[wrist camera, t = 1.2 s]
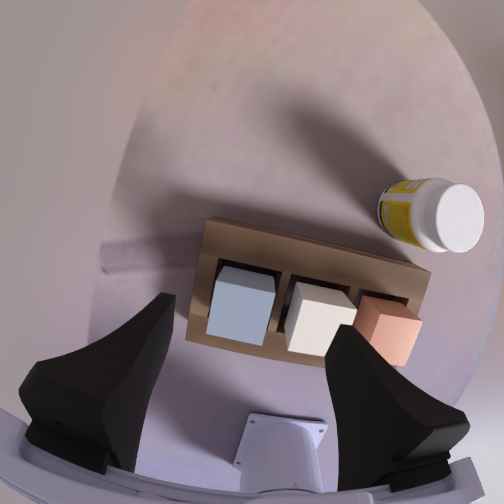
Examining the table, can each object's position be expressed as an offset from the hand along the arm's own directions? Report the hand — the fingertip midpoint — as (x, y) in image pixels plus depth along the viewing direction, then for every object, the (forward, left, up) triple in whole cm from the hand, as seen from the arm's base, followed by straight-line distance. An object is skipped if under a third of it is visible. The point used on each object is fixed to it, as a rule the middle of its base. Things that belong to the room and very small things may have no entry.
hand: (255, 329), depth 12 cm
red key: (-1, -9, -8) cm, 12 cm away
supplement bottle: (+7, -10, -11) cm, 17 cm away
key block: (-1, -4, -11) cm, 12 cm away
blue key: (-1, +1, -8) cm, 8 cm away
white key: (-1, -4, -8) cm, 9 cm away
